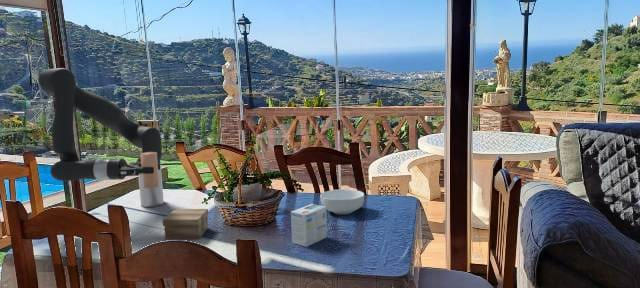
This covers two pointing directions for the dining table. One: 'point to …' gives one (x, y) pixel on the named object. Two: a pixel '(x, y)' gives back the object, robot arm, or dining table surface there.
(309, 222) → the light bulb box
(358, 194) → the cereal bowl
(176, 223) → the tan square block
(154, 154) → the tan cylinder
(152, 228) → the dining table surface
